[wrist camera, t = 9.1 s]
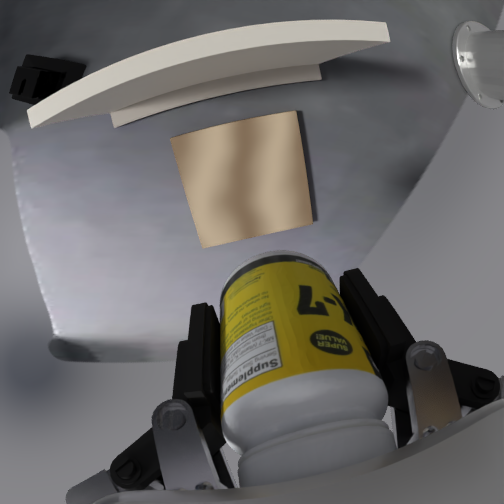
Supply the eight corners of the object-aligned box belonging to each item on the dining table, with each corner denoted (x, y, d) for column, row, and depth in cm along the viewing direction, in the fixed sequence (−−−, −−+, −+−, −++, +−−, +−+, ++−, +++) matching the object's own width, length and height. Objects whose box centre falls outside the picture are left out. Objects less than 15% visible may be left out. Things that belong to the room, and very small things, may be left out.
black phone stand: (4, 102, 20) (-19, 106, 16) (23, 44, 17) (0, 42, 13) (78, 124, 24) (57, 129, 20) (103, 59, 21) (84, 54, 17)
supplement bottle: (350, 289, 12) (438, 459, 5) (275, 349, 14) (308, 514, 6) (277, 222, 10) (366, 457, 3) (195, 301, 12) (185, 510, 5)
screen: (309, 39, 22) (379, -2, 9) (318, 80, 24) (395, 68, 12) (107, 87, 22) (22, 86, 10) (117, 126, 24) (38, 153, 12)
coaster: (294, 110, 25) (296, 110, 25) (311, 221, 31) (313, 224, 30) (171, 137, 25) (170, 138, 25) (203, 245, 31) (202, 248, 31)
